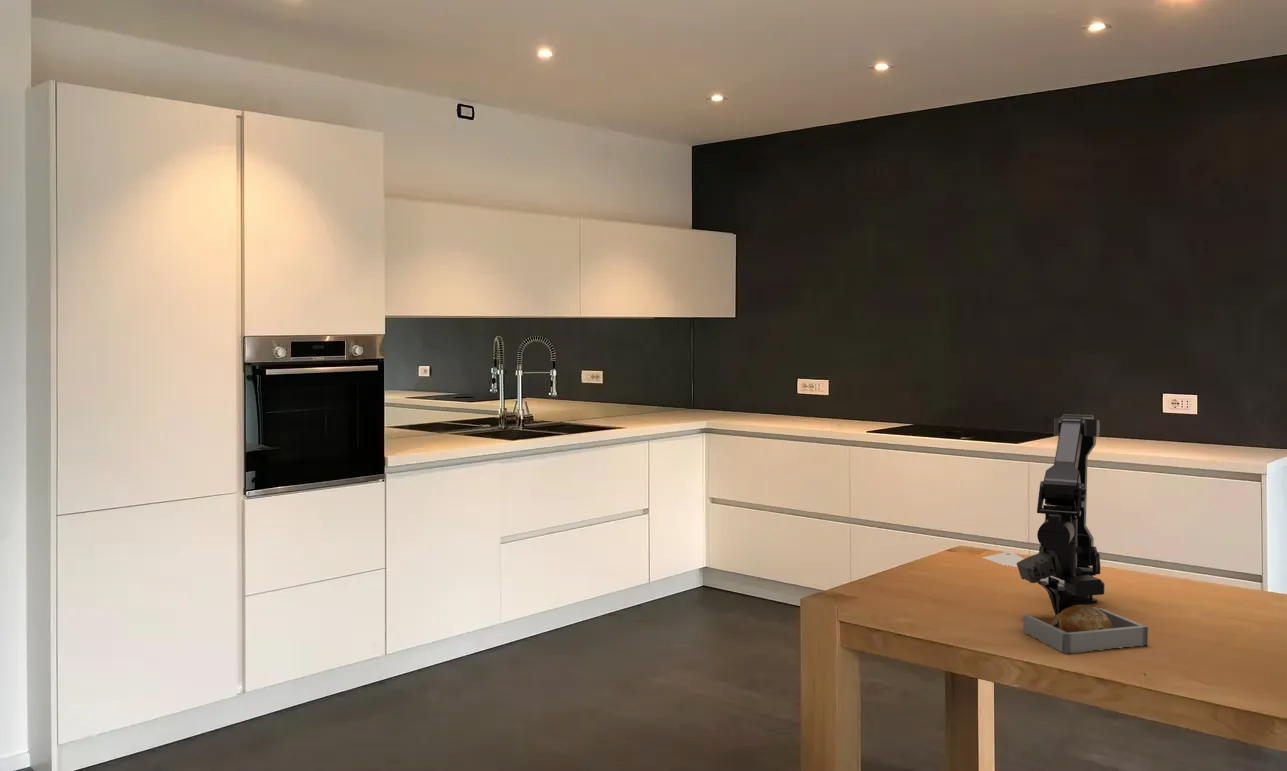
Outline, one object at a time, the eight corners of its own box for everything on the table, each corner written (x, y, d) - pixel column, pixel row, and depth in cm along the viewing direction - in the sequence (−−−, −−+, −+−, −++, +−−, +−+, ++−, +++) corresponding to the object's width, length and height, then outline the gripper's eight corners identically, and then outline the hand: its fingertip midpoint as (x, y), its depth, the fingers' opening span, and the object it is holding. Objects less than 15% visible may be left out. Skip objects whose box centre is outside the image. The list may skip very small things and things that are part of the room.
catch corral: (1100, 625, 200) (1101, 607, 200) (1147, 645, 187) (1147, 627, 187) (1023, 632, 196) (1023, 614, 196) (1065, 653, 183) (1065, 634, 183)
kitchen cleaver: (975, 555, 257) (1008, 548, 260) (975, 562, 258) (1009, 554, 260) (1059, 586, 228) (1096, 577, 230) (1059, 593, 228) (1096, 584, 231)
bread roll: (1086, 666, 188) (1105, 631, 185) (1038, 632, 194) (1056, 598, 191) (1110, 654, 194) (1129, 620, 191) (1063, 621, 201) (1080, 588, 198)
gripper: (996, 533, 205) (996, 610, 206) (1053, 554, 187) (1052, 638, 188) (1046, 530, 207) (1045, 605, 208) (1107, 550, 189) (1105, 633, 190)
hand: (1060, 620), depth 199 cm, fingers closed
